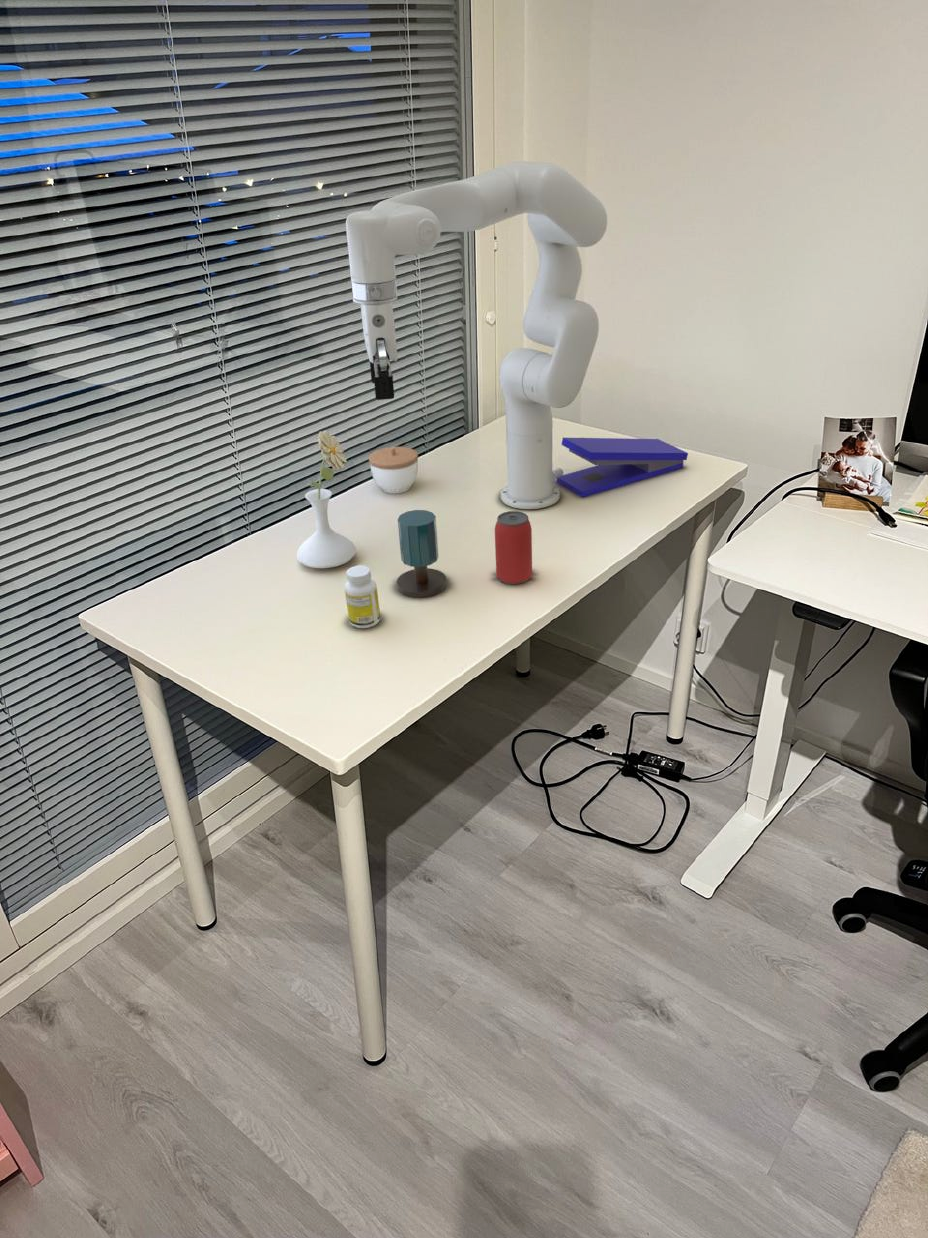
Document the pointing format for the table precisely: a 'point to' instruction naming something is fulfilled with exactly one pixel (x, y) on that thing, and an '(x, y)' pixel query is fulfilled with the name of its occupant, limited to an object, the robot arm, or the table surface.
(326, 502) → the flower in vase
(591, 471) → the stapler
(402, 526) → the teal wooden cylinder
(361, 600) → the supplement bottle
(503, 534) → the beer can
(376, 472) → the trinket box
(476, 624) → the table surface
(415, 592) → the holder
